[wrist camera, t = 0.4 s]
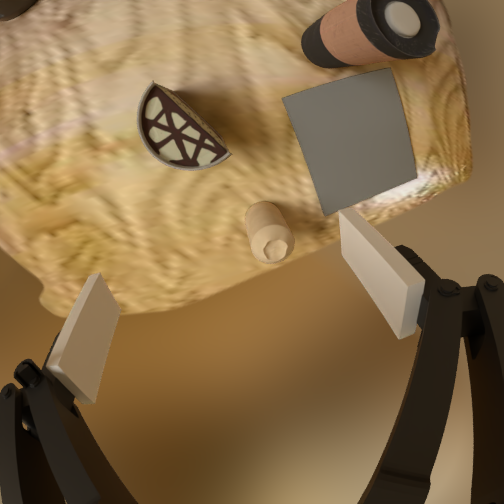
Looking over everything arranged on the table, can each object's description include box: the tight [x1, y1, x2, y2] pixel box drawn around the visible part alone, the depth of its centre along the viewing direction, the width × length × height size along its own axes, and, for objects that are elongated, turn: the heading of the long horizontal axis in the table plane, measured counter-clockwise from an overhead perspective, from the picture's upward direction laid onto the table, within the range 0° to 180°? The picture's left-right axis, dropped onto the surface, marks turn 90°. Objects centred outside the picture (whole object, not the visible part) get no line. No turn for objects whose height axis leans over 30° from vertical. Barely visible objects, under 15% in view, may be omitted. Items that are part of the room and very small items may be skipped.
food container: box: [137, 81, 232, 171], centre depth 32 cm, size 12×6×10 cm, turn 43°
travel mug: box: [301, 0, 440, 68], centre depth 23 cm, size 8×8×20 cm
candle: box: [245, 202, 295, 264], centre depth 40 cm, size 6×6×10 cm
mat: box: [282, 68, 417, 216], centre depth 39 cm, size 19×18×1 cm
